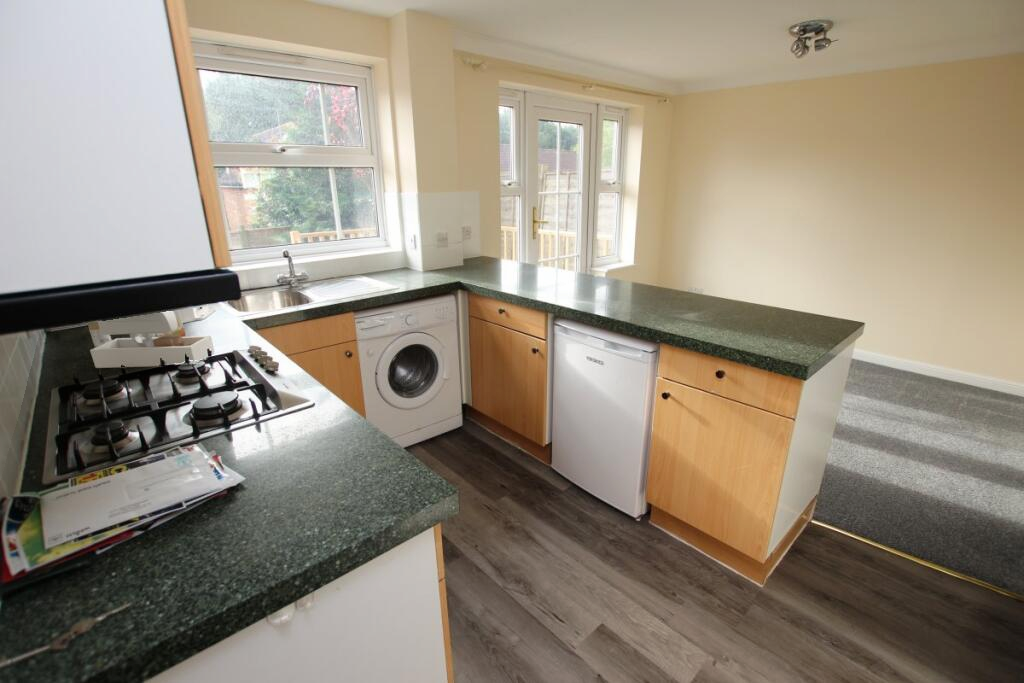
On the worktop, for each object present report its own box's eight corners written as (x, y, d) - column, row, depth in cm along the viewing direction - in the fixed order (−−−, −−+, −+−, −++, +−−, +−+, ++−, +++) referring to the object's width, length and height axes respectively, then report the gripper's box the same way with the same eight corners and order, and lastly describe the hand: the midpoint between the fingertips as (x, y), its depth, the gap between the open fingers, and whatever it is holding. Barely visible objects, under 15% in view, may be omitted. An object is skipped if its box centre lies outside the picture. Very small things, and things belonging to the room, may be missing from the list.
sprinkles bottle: (115, 350, 150) (103, 309, 146) (115, 353, 147) (103, 312, 143) (97, 353, 148) (83, 312, 143) (96, 357, 144) (83, 315, 140)
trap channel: (95, 367, 136) (89, 350, 134) (122, 355, 146) (116, 338, 144) (195, 364, 137) (190, 347, 135) (214, 352, 147) (210, 335, 145)
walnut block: (167, 347, 143) (163, 335, 142) (184, 347, 143) (180, 334, 142) (156, 353, 138) (152, 340, 137) (173, 352, 139) (170, 339, 137)
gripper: (85, 305, 132) (100, 351, 137) (160, 304, 133) (172, 349, 137) (103, 300, 138) (116, 344, 143) (174, 298, 139) (186, 342, 143)
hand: (144, 347), depth 140 cm, fingers closed
